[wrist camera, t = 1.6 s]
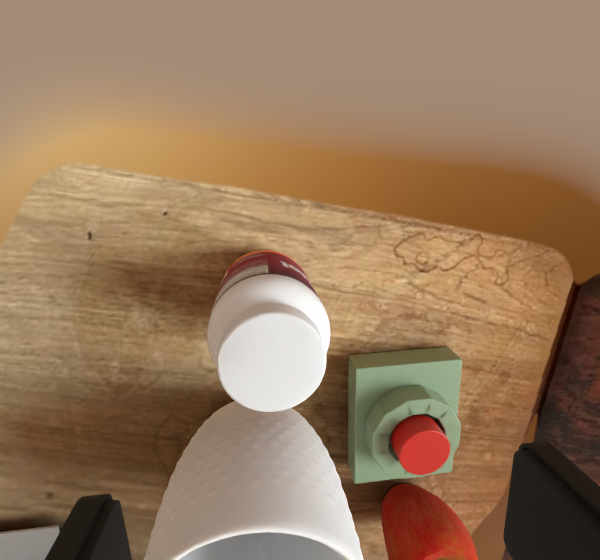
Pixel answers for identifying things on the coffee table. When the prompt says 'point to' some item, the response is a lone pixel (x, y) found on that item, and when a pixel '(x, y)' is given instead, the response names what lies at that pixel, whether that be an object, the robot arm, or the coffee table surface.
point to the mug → (254, 494)
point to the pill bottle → (268, 332)
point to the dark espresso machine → (27, 543)
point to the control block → (398, 406)
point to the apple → (423, 527)
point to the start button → (420, 445)
